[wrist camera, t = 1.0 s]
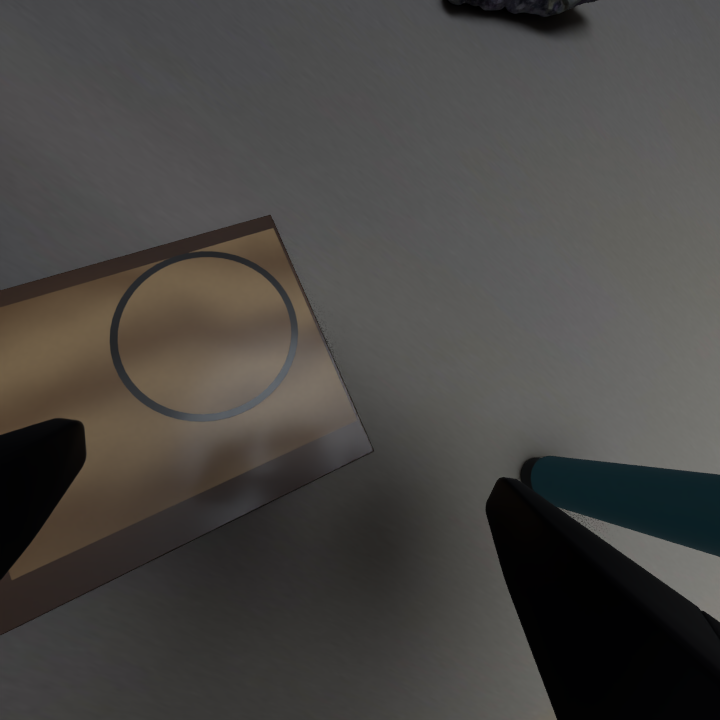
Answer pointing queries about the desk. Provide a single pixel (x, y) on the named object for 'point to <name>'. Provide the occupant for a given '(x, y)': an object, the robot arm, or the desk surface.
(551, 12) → the mineral rock
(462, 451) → the desk surface
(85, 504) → the wooden board
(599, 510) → the cylinder
